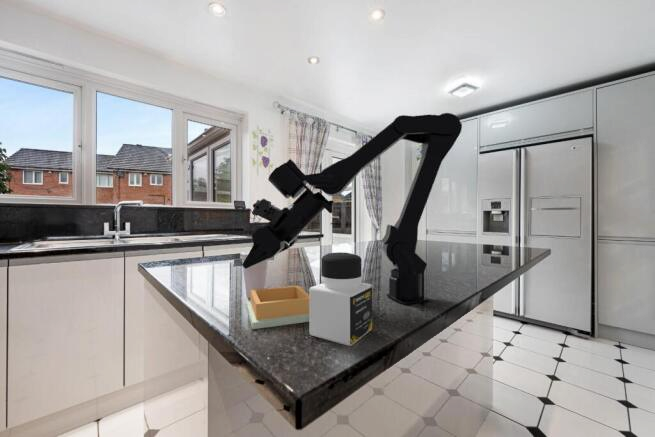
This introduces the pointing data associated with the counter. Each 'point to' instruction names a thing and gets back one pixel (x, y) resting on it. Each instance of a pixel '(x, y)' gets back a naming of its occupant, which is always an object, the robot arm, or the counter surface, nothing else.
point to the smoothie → (254, 274)
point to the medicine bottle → (340, 301)
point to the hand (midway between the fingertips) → (251, 263)
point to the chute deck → (278, 306)
